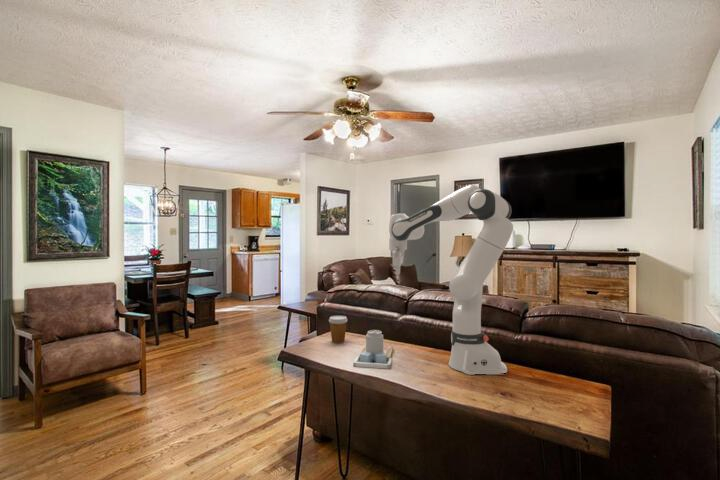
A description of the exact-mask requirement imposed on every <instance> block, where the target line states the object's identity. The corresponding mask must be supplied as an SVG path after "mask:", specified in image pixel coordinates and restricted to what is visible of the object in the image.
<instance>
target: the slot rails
mask: <svg viewBox="0 0 720 480" xmlns="http://www.w3.org/2000/svg"><path fill="white" fill-rule="evenodd" d="M364 351H365V352H366V344H365V345H364V347H363V349H362V350H361V352H360V354H361V353H363V352H364ZM393 352H394V346H393V345H389V346H388V347H387V350H386V353H385V354H386V363H388V361H389V358H391V357H392V355H393ZM358 356H359V361H360V355H358Z"/></svg>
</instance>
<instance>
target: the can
mask: <svg viewBox="0 0 720 480" xmlns="http://www.w3.org/2000/svg"><path fill="white" fill-rule="evenodd" d="M365 345H366V352H371V353H373V362H374V353H381V352H384V334H382V331H381V330H379V329H372V330H371V329H370V330H368V331H367V333H366V335H365Z"/></svg>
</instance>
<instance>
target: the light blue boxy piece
mask: <svg viewBox="0 0 720 480" xmlns="http://www.w3.org/2000/svg"><path fill="white" fill-rule="evenodd" d="M373 363H381V364H387V362H386V353H385V352H384V351H383V352H381V353H374V361H373Z"/></svg>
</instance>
